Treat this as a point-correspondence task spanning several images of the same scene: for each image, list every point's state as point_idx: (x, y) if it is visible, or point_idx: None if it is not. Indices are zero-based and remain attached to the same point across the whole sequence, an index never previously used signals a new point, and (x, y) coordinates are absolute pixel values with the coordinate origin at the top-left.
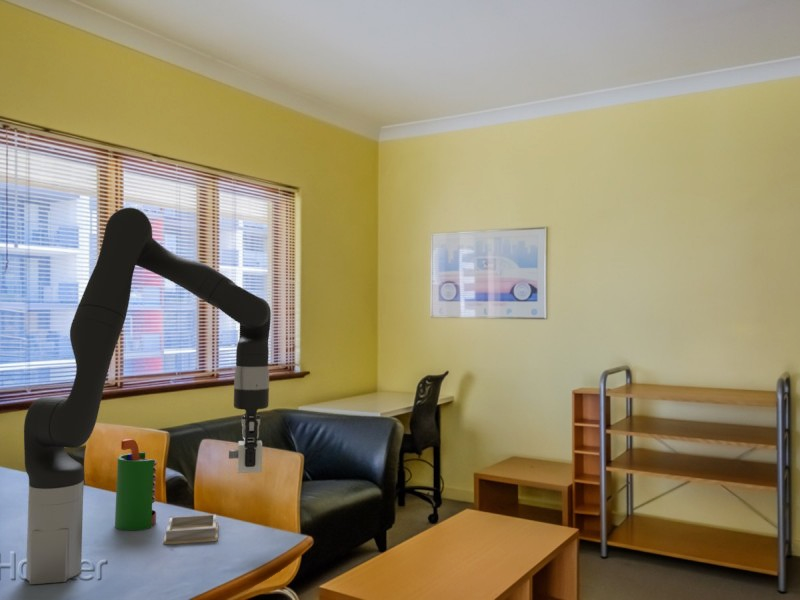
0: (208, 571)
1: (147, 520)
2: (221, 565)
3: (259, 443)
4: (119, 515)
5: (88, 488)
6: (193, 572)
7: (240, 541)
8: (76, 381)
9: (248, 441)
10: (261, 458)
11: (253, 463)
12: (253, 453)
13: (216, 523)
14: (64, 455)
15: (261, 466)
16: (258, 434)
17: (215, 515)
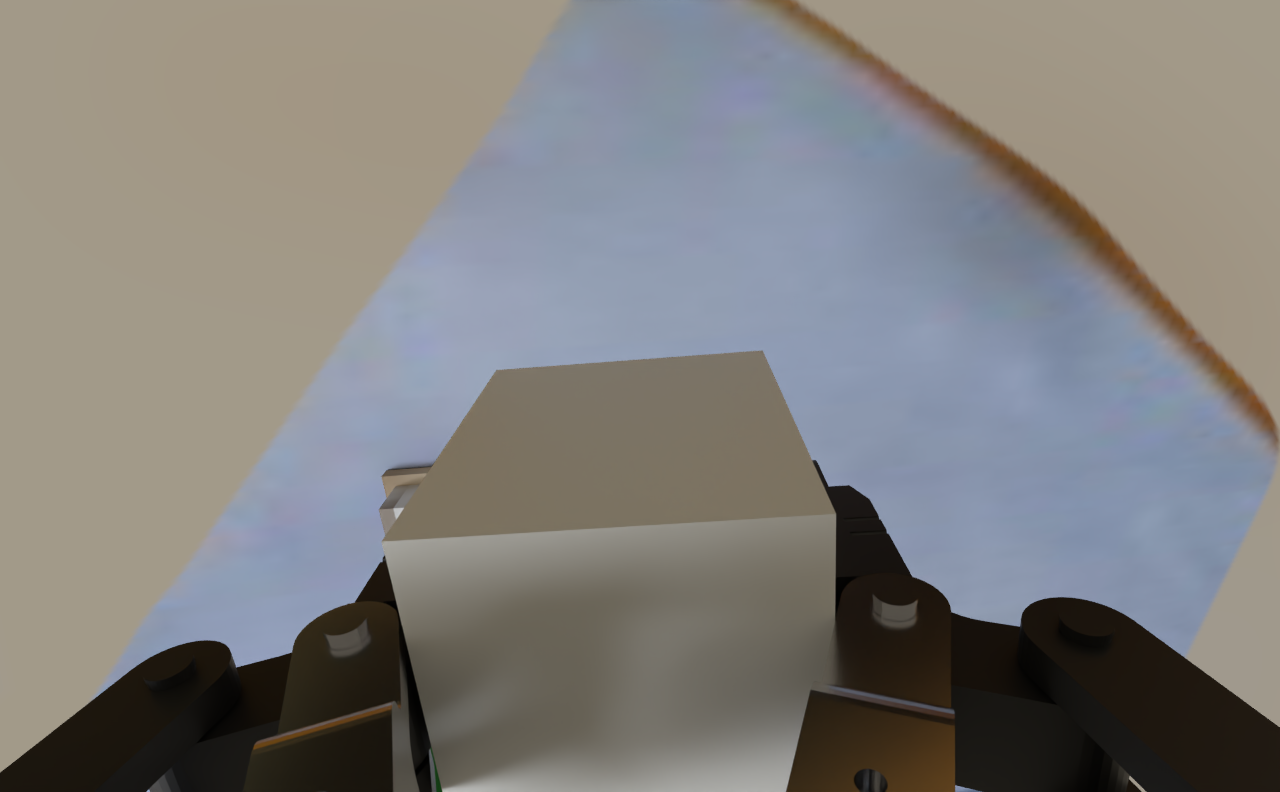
0: (1045, 451)
1: (437, 775)
2: (988, 403)
3: (705, 566)
4: None
5: None
6: (1036, 508)
7: (663, 339)
8: None
9: (492, 735)
10: (792, 418)
11: (858, 492)
12: (902, 571)
13: (404, 482)
14: None
15: (771, 376)
16: (949, 750)
17: (401, 510)
